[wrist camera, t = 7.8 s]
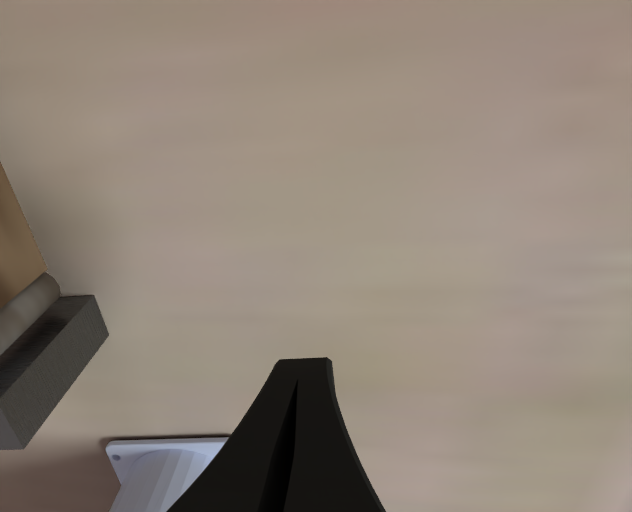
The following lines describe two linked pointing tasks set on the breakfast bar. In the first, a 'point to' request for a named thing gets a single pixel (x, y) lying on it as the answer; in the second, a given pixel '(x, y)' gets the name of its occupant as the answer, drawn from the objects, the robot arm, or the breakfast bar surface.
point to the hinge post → (46, 365)
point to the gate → (20, 271)
